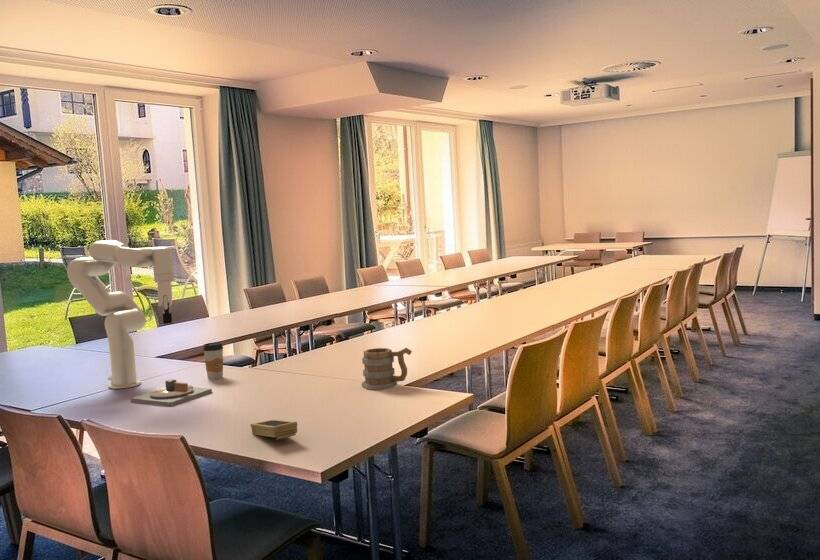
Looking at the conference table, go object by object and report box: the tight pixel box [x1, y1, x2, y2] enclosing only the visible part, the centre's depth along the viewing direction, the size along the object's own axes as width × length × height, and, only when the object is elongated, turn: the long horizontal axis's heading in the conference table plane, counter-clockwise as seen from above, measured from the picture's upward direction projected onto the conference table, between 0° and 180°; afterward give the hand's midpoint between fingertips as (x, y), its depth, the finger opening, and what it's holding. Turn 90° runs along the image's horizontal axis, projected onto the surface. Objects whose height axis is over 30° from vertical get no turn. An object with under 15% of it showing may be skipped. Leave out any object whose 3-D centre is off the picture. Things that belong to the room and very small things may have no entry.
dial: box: [149, 379, 194, 398], centre depth 267 cm, size 16×16×5 cm
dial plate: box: [130, 386, 213, 407], centre depth 267 cm, size 21×21×2 cm
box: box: [250, 419, 298, 441], centre depth 210 cm, size 8×22×5 cm, turn 35°
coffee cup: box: [202, 341, 224, 381], centre depth 297 cm, size 8×8×15 cm
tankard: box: [361, 347, 413, 391], centre depth 267 cm, size 20×13×15 cm, turn 71°
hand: (167, 323), depth 280 cm, fingers closed
